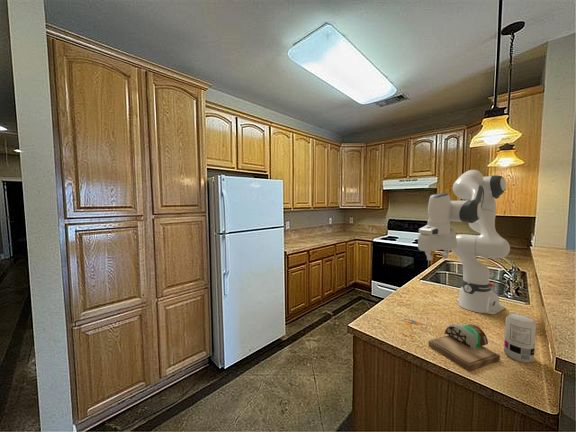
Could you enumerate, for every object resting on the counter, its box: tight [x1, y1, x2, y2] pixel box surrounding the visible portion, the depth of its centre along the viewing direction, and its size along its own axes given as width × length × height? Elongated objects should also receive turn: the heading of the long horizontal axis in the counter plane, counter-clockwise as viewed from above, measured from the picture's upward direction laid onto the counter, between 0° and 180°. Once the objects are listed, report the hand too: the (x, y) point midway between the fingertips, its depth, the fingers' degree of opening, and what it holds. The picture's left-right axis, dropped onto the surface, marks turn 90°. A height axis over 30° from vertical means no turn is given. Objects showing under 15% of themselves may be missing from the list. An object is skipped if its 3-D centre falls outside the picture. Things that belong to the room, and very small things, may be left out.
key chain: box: [402, 318, 430, 333], centre depth 116 cm, size 13×7×1 cm, turn 44°
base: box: [428, 334, 501, 372], centre depth 95 cm, size 16×16×2 cm
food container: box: [444, 323, 489, 350], centre depth 100 cm, size 12×6×10 cm
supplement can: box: [503, 312, 537, 364], centre depth 92 cm, size 8×8×15 cm
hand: (437, 259), depth 114 cm, fingers open, 8 cm apart
